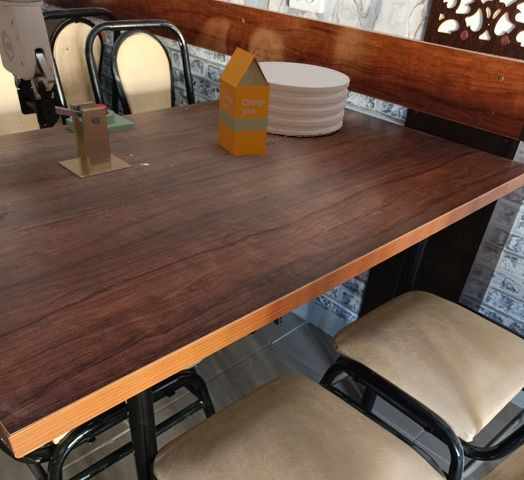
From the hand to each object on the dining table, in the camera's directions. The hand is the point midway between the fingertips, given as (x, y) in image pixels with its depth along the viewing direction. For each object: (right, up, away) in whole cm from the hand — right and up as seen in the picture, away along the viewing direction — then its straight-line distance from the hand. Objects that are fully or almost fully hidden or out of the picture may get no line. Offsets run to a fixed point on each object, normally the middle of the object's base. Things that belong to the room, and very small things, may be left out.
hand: (39, 117), depth 88 cm
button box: (+1, +11, +31) cm, 32 cm away
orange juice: (+34, +4, +27) cm, 43 cm away
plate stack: (+46, +21, +49) cm, 70 cm away
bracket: (+6, -5, +12) cm, 14 cm away
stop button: (+1, +14, +28) cm, 31 cm away
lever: (+3, +1, +3) cm, 4 cm away
